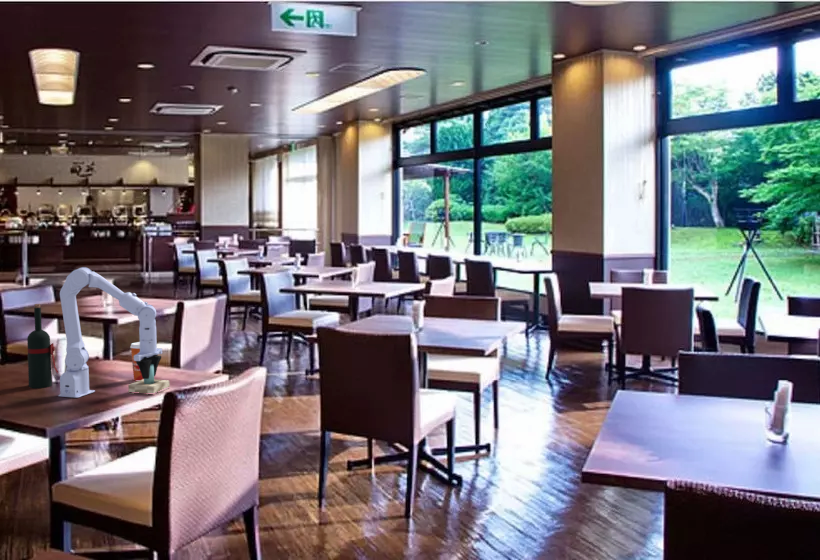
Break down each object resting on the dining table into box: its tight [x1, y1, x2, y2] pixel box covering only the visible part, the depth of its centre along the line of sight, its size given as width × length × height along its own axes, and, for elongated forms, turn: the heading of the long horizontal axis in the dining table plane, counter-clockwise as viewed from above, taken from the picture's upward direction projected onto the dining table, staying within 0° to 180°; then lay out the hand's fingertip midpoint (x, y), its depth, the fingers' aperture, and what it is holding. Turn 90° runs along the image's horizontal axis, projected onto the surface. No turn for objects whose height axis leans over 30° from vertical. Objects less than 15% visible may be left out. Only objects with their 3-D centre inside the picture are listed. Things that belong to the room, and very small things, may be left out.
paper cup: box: [129, 341, 143, 381], centre depth 297 cm, size 8×8×14 cm
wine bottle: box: [26, 303, 60, 389], centre depth 286 cm, size 8×10×30 cm
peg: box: [144, 364, 155, 384], centre depth 280 cm, size 4×4×7 cm
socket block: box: [127, 378, 171, 393], centre depth 280 cm, size 10×10×3 cm
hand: (149, 377), depth 280 cm, fingers closed on peg, 3 cm apart
